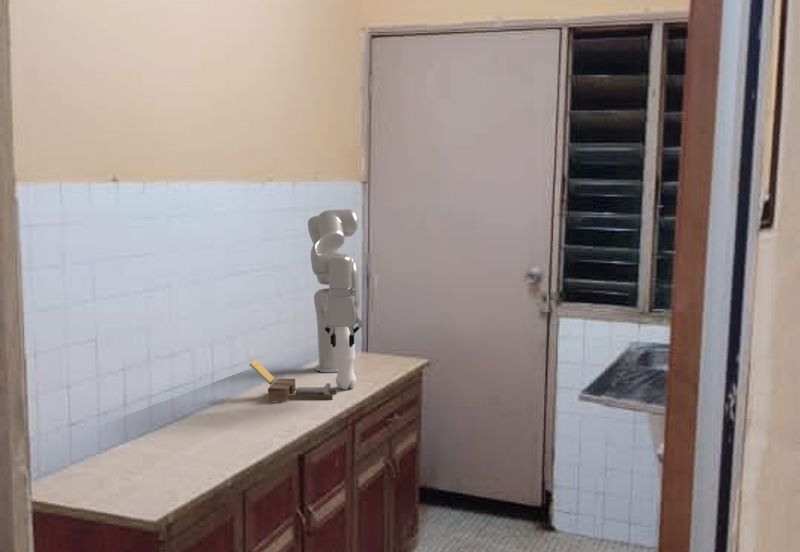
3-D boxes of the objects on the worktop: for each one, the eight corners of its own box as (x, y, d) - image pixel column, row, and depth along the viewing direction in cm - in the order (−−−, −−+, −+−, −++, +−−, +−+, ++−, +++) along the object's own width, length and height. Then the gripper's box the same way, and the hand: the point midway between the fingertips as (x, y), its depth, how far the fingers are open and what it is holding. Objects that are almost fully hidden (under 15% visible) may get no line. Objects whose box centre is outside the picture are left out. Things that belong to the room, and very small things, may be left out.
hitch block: (278, 391, 298) (278, 378, 298) (338, 391, 296) (337, 378, 296) (268, 402, 285) (267, 388, 284) (330, 402, 282) (330, 388, 282)
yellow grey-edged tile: (254, 360, 294) (255, 358, 294) (275, 381, 294) (277, 379, 294) (248, 364, 288) (250, 362, 288) (270, 385, 288) (272, 383, 288)
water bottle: (357, 385, 304) (355, 316, 301) (354, 390, 297) (352, 319, 294) (338, 385, 305) (335, 316, 302) (334, 390, 298) (331, 319, 295)
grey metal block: (294, 399, 288) (294, 387, 287) (298, 394, 294) (298, 383, 293) (327, 399, 287) (327, 387, 286) (330, 394, 292) (330, 383, 292)
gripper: (367, 291, 288) (369, 344, 290) (317, 291, 290) (320, 344, 292) (364, 294, 280) (366, 348, 282) (313, 294, 282) (315, 348, 284)
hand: (342, 345), depth 287 cm, fingers open, 5 cm apart
